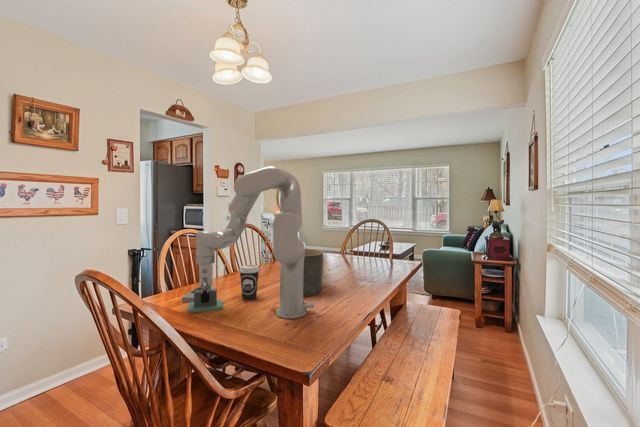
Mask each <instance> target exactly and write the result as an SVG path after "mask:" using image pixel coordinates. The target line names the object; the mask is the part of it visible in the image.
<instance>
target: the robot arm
mask: <svg viewBox="0 0 640 427" xmlns="http://www.w3.org/2000/svg"><path fill="white" fill-rule="evenodd" d="M233 189H234V192H235V194H234V197H233V198H232V200H231V202H230V204H229V206H228V209H229V212H230V220H229V222H228V224H227V226H226V228H224V229H223V230H218V231H217V230H216V231H213V230H209V229H208V230H198V231H197V232H196V234H195V235H196V236H195V248H196V249H195V252H196V253H195V256H196V257H195V262H196V263H195V264H196V265H198V268H199V269H198V275H199V278H198V279H199V287H201V288H202V290H201V303H207V302H209V289H210V287H213V284H214V283H213V282H214V273H213V271H214V268H213V266H214V263H216V251H215V250H223V249H226V248H228V247H231V246H234V245H235V244H236V243H237V242H238V240H239V238H240V237H241V235H242V234H243V231H244V229H245V227H246V223H247V220H248V216H249V214H250V212H251V210H252V209H253V207H254V205H255V203H256V202H257V200H258V198H259V196H260V195H261V193H262V192H265V191H268V190H277V191H280V199H279V204H280V212H279V213H277V214H276V215H275V217H274V219H273V223H272V235H273V236H272V240H273V242H272V243H273V245H272V246H273V254H274V257H275V260H277V262H278V263H280V270H279V307H278V308H277V309H276V311H275V314H276V315H277V317H279V318H281V319H290V320H291V319H292V320H293V319H299V318H303V317H305V316H306V315H307V314H308V313H307V312H308V309H312V308H313V309H315V303H314V302H310V301H306V302H305V301H304V297H303V275H304V256H305V249H306V248H305V244H304V242H303V240H302V239H301V238H300V237H298V236H299V234H298V232H300V230H301V228H302V226H303V217H302V216H303V212H302V211H303V210H302V192H301V191H302V190H301V185H300V183H299V181H298V179H297V178H296V177H295V175H293V174H292V173H290V172H288V171H286V170H285V169H282V168H279V167H275V166H266V167H263V168H259V169H257V170H253V171H250V172H247V173H245V174H242V175H240V176H239V177H237V178H236V180H234V184H233Z"/></svg>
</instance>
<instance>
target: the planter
mask: <svg viewBox="0 0 640 427" xmlns="http://www.w3.org/2000/svg"><path fill="white" fill-rule="evenodd" d="M324 256H325V255H324V251H323V250H321V249H315V248H305V256H304V275H303V298H304V297H313V296H316V295H320V294H321V293H322V292H323V282H324V281H323V279H324V278H323V277H324Z"/></svg>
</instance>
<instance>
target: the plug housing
mask: <svg viewBox="0 0 640 427" xmlns="http://www.w3.org/2000/svg"><path fill="white" fill-rule="evenodd" d="M217 300H218V289H217V288H215V289H209V302H207V303H201V290H195V291H194V307H201V306H212V305H217Z"/></svg>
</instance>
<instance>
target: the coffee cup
mask: <svg viewBox="0 0 640 427" xmlns="http://www.w3.org/2000/svg"><path fill="white" fill-rule="evenodd" d="M260 271H261V270H260V268H259V266H258V265H256V264H245V265H242V266H240V268H239V271H238V272H239V273H240V274H239V276H240V285H241V286H240V288H241V299H242V300H244V301H252V300H255V299H257V295H258V281H259V273H260Z"/></svg>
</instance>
